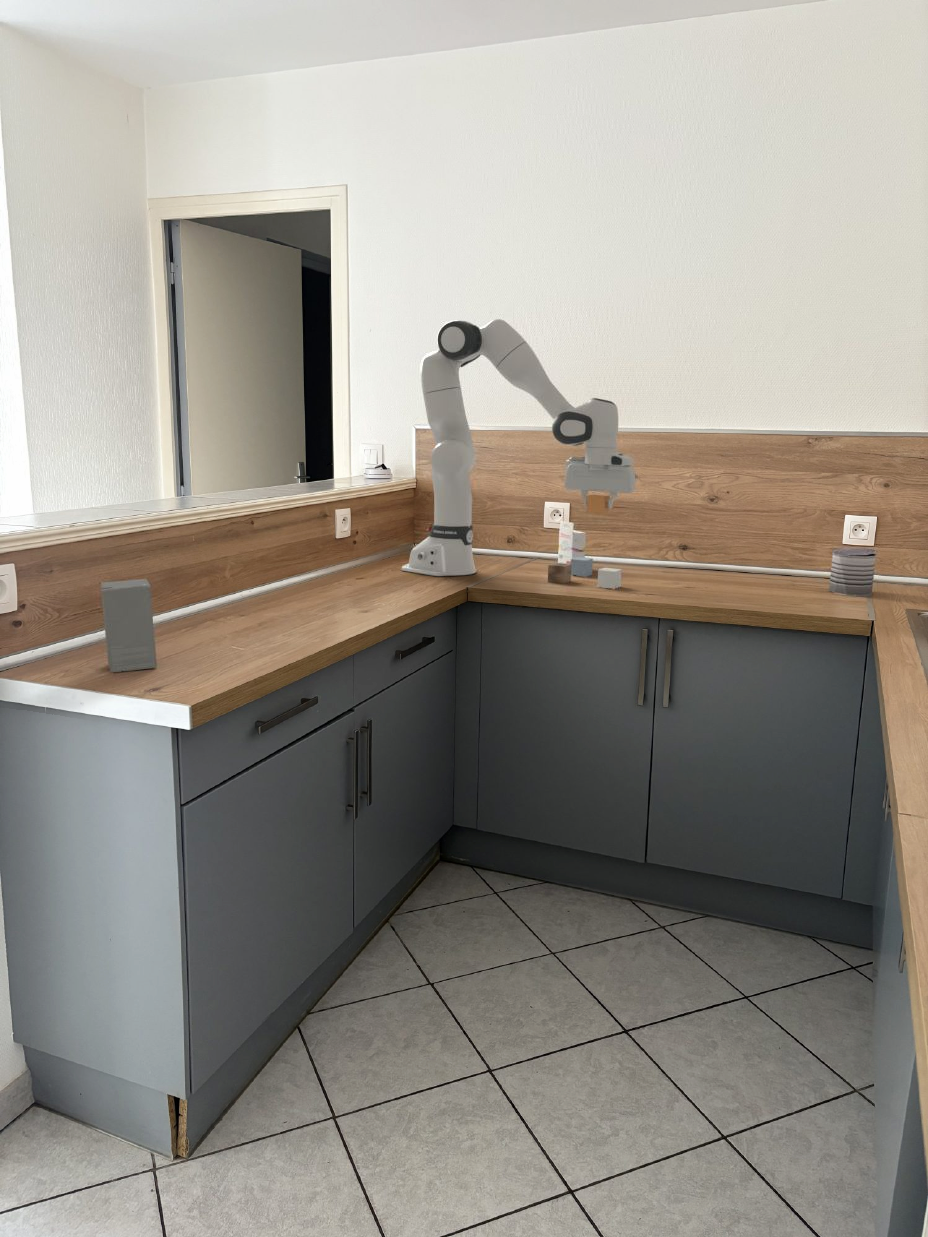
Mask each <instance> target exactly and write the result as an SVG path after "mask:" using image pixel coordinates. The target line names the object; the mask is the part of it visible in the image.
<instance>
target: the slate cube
mask: <svg viewBox="0 0 928 1237" xmlns="http://www.w3.org/2000/svg"><path fill="white" fill-rule="evenodd" d="M593 562H594V559H593V557H592V558H589V557H585V558H582V557H576V558H573V559H571V564H572V565H571V575H577V576H576V577H579V576H582V578H588V577H590V576H592V575H593V564H594V563H593ZM589 575H590V576H589ZM587 576H588V577H587Z"/></svg>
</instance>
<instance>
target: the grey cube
mask: <svg viewBox="0 0 928 1237" xmlns="http://www.w3.org/2000/svg"><path fill="white" fill-rule="evenodd" d="M596 586H597V587H602V588H601V589H606V588H613V589H612V590H616V589H615V588H617V589H618V587H619V588H621V587H622V569H621V568H612V567H602V568H600V569H597V584H596ZM620 586H621V587H620Z"/></svg>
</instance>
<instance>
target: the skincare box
mask: <svg viewBox="0 0 928 1237" xmlns="http://www.w3.org/2000/svg"><path fill="white" fill-rule="evenodd" d="M100 589H101V602H102V603H101V604H102V612H103V613H102V614H103V625H104V632H105V633H104V634H105V641H106V642H105V644H106V655H107V664H108V667H109V668H108V669H109V671H110V673H111V674H113V673H114V672H115V673H121V672H122V671H123V672H130V671H138V670H139V671H141V670H147V669H148V670H150V669H155V668H157V666H158V664H157V652H156V650H157V649H156V641H155V640H156V639H155V627H154V618H153V604H152V593H151V592H152V588H151V585H150V583H149V581H148V580H147V578H141V579H140V578H138V579H130V580H118V581H106V582H105V581H101V582H100Z"/></svg>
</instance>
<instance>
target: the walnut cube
mask: <svg viewBox="0 0 928 1237" xmlns="http://www.w3.org/2000/svg"><path fill="white" fill-rule="evenodd" d="M571 565H572V564H564V563H558V562H554V563H550V564H548V565H547V566H548V568H547V582H548V583H552V582H553V584H561V583H565V584H567V583H570V582H571V581H572V576H571ZM569 581H570V582H569ZM566 582H567V583H566Z"/></svg>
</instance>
